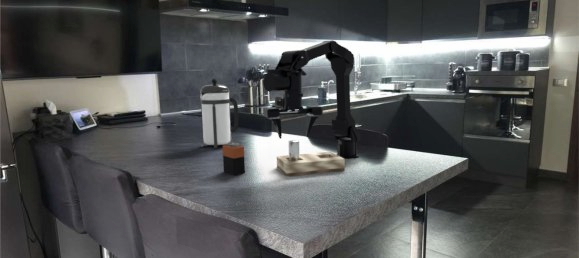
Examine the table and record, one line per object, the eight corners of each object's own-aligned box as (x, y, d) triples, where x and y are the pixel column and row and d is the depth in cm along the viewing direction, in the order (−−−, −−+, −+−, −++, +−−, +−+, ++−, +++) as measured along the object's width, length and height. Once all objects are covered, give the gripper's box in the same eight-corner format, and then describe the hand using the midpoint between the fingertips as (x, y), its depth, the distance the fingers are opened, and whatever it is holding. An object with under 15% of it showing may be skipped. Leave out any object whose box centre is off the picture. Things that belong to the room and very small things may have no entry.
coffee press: (234, 149, 170) (231, 78, 165) (196, 149, 170) (193, 79, 165) (239, 141, 187) (237, 77, 182) (205, 142, 187) (202, 78, 183)
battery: (234, 175, 128) (233, 145, 126) (223, 171, 133) (221, 142, 131) (245, 173, 131) (244, 143, 129) (234, 169, 136) (232, 140, 134)
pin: (297, 165, 135) (297, 139, 133) (301, 168, 131) (300, 141, 130) (287, 166, 134) (287, 140, 132) (290, 169, 130) (290, 142, 129)
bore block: (330, 162, 143) (330, 151, 142) (344, 170, 131) (344, 158, 131) (276, 167, 137) (276, 156, 136) (286, 176, 126) (286, 164, 125)
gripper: (311, 88, 139) (311, 132, 141) (259, 89, 133) (260, 135, 136) (323, 89, 128) (323, 137, 131) (267, 91, 123) (268, 141, 125)
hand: (293, 137), depth 131 cm, fingers open, 9 cm apart
